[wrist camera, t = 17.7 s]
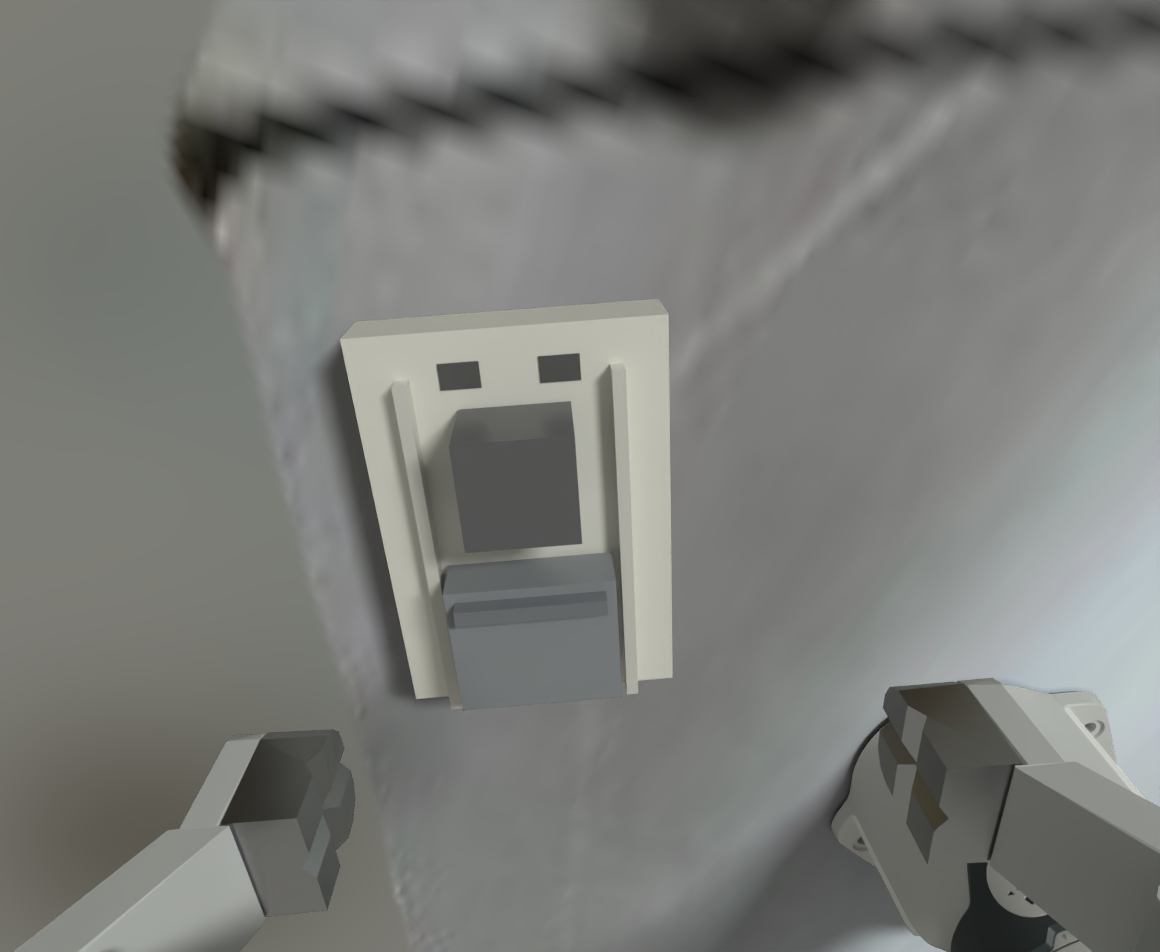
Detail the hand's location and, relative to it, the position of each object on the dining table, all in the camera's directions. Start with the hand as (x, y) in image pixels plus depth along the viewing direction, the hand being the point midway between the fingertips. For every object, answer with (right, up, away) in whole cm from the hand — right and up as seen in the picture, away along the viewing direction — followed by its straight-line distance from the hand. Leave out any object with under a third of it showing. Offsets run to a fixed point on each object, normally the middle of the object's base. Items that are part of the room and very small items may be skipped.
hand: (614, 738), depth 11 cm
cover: (-3, -3, +27) cm, 27 cm away
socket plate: (-3, +3, +27) cm, 28 cm away
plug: (-3, +6, +26) cm, 27 cm away
